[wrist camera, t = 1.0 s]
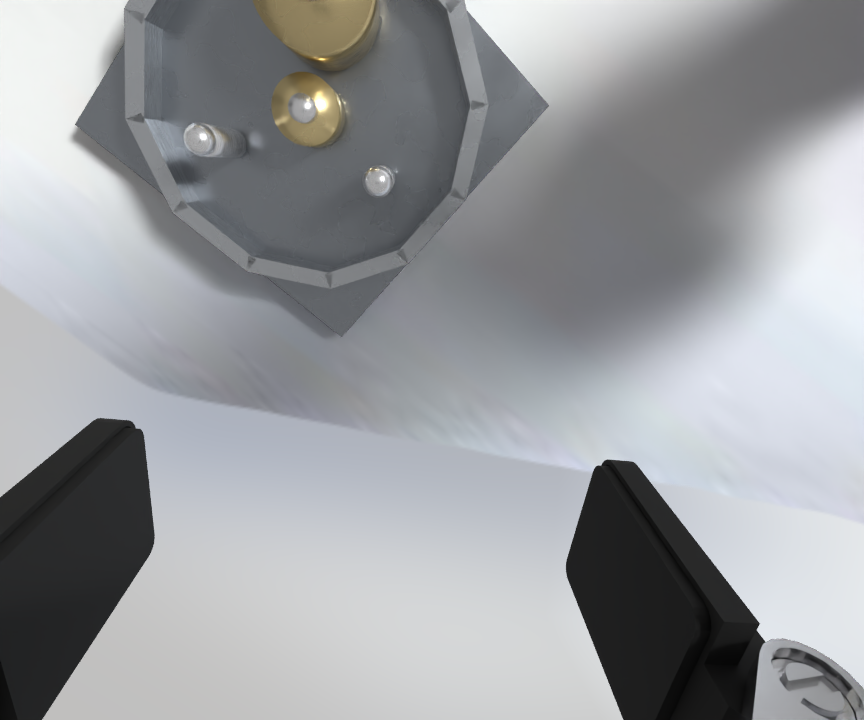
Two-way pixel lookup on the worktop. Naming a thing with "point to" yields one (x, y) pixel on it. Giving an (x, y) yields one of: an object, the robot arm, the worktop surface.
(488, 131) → the carrier
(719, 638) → the robot arm
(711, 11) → the worktop surface
